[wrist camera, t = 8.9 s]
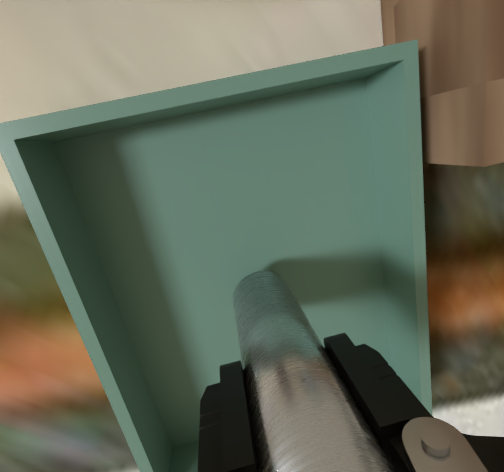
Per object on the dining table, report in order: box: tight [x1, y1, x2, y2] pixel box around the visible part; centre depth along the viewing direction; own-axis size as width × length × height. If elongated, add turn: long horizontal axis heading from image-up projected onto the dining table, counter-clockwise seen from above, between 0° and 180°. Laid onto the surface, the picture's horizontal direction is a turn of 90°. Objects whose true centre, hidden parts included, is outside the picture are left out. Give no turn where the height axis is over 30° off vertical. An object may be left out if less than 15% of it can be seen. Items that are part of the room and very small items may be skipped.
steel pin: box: [233, 271, 395, 472], centre depth 10 cm, size 4×4×12 cm
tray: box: [0, 39, 432, 472], centre depth 16 cm, size 16×20×4 cm
